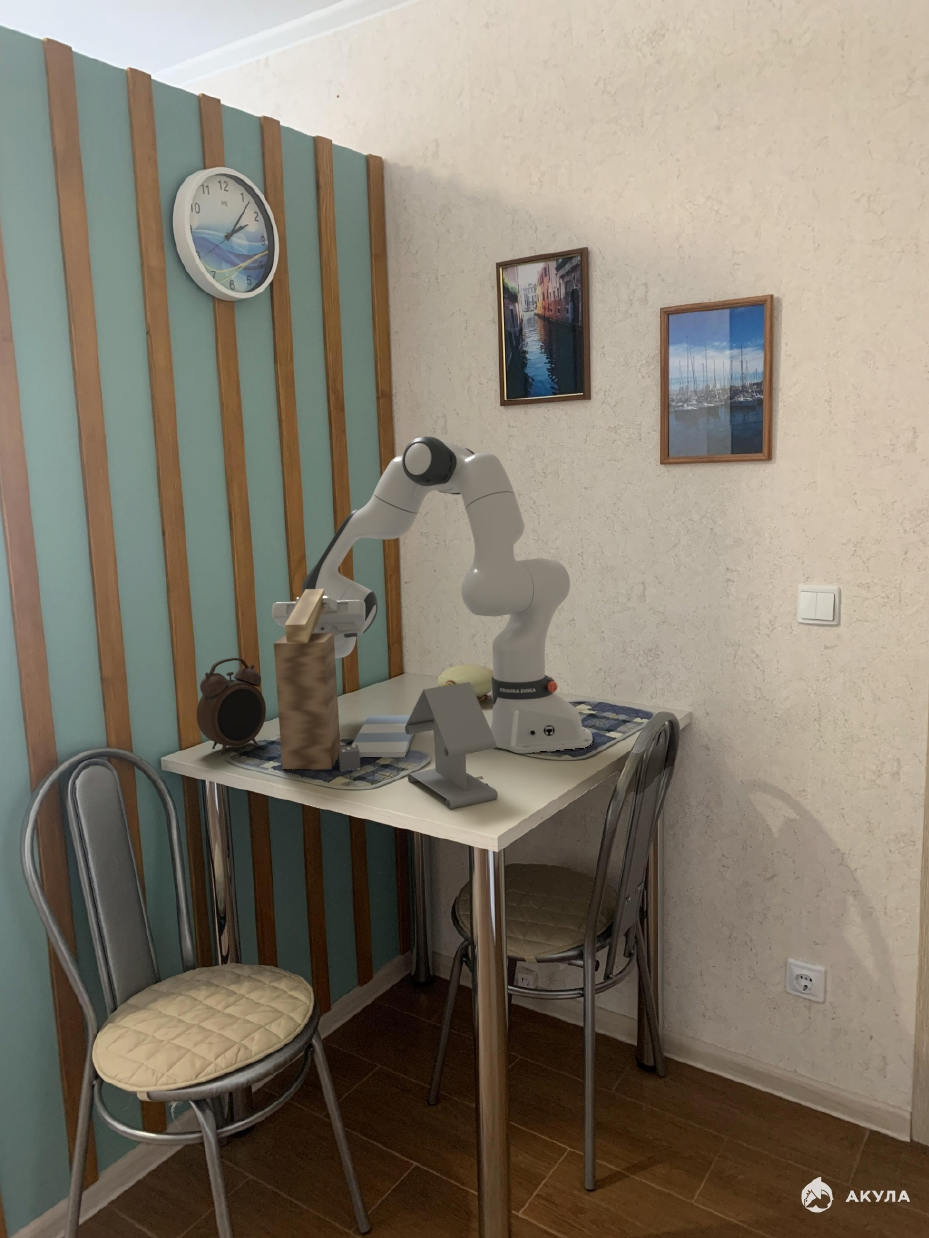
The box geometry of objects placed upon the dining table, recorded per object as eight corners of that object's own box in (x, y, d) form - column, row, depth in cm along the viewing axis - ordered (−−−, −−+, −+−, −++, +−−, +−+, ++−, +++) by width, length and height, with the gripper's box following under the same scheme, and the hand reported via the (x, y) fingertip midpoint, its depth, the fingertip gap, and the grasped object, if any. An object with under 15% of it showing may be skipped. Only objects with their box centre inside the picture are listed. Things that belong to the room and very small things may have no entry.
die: (358, 763, 192) (357, 743, 191) (360, 769, 188) (359, 749, 187) (339, 765, 191) (337, 745, 191) (340, 771, 187) (339, 751, 187)
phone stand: (497, 800, 169) (494, 691, 165) (450, 810, 164) (446, 699, 161) (451, 772, 185) (447, 672, 181) (407, 781, 180) (402, 679, 177)
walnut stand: (340, 753, 199) (333, 632, 194) (331, 769, 189) (323, 642, 185) (294, 754, 199) (285, 634, 195) (282, 769, 190) (273, 643, 185)
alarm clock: (216, 760, 197) (208, 667, 194) (197, 753, 202) (189, 663, 199) (273, 743, 208) (267, 654, 205) (254, 737, 213) (247, 651, 209)
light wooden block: (326, 606, 202) (324, 588, 201) (307, 643, 184) (305, 624, 182) (307, 606, 202) (305, 589, 201) (287, 643, 184) (284, 624, 182)
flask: (510, 696, 241) (472, 716, 226) (458, 690, 250) (419, 709, 235) (508, 661, 239) (470, 679, 224) (456, 656, 248) (416, 673, 233)
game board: (418, 720, 222) (418, 715, 222) (405, 757, 195) (404, 751, 195) (368, 720, 223) (368, 716, 223) (347, 758, 196) (347, 752, 195)
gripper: (280, 610, 213) (264, 587, 200) (370, 608, 211) (360, 585, 198) (279, 637, 210) (262, 615, 197) (369, 634, 209) (359, 612, 196)
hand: (312, 600), depth 198 cm, fingers closed on light wooden block, 4 cm apart
